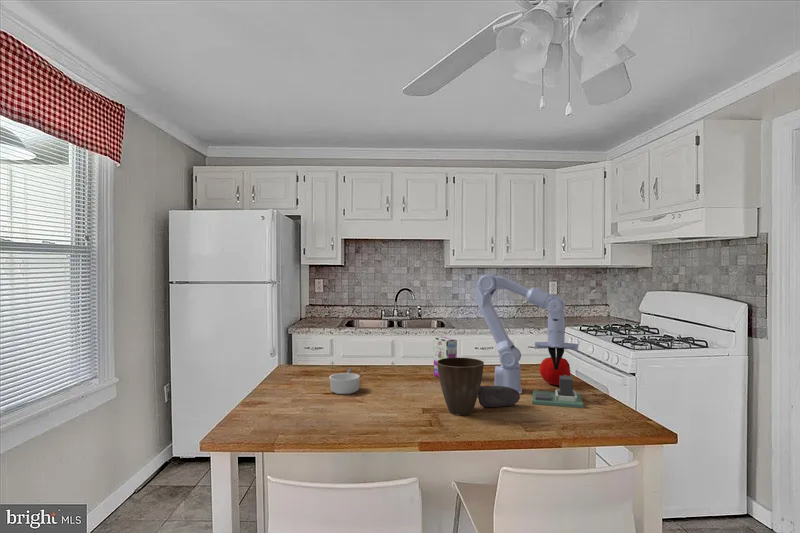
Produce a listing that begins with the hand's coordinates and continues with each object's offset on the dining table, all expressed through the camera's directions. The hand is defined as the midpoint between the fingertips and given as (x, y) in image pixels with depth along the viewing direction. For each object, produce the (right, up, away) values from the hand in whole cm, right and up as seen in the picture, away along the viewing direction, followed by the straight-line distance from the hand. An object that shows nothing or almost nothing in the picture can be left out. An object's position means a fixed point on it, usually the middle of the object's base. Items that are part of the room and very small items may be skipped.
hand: (556, 369), depth 172 cm
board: (-2, -10, -6) cm, 11 cm away
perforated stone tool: (-23, -10, -12) cm, 28 cm away
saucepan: (-76, -10, +12) cm, 77 cm away
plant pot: (-36, -10, -17) cm, 41 cm away
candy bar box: (-37, -10, +26) cm, 47 cm away
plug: (+1, -9, -7) cm, 11 cm away
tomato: (+4, -9, +15) cm, 19 cm away
